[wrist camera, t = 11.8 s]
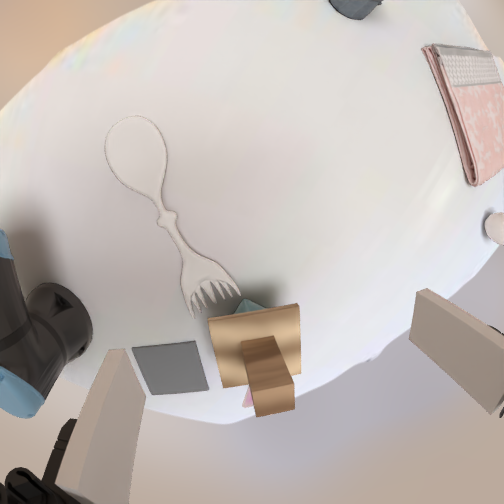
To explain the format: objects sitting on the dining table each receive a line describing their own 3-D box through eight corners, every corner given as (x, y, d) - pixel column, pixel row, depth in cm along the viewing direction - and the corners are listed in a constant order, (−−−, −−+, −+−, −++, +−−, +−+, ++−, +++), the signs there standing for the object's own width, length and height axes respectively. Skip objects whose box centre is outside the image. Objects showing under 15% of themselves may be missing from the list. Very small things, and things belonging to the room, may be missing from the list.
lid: (207, 318, 34) (209, 371, 24) (297, 303, 36) (328, 348, 25) (222, 383, 38) (229, 439, 27) (299, 369, 39) (323, 419, 29)
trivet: (152, 393, 47) (151, 395, 46) (132, 347, 44) (131, 348, 43) (208, 388, 48) (208, 390, 48) (195, 340, 45) (195, 342, 44)
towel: (480, 51, 38) (493, 48, 32) (513, 155, 48) (526, 156, 42) (416, 47, 37) (432, 40, 31) (464, 187, 47) (481, 190, 41)
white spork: (193, 311, 44) (192, 321, 41) (100, 138, 34) (92, 136, 31) (241, 288, 44) (244, 296, 41) (149, 108, 34) (144, 102, 31)
